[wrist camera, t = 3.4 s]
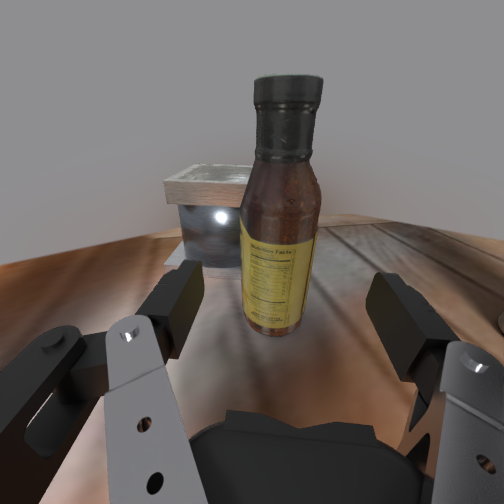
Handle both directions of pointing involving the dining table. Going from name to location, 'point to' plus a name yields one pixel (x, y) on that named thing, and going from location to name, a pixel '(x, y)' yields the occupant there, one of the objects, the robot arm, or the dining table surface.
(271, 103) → the sauce bottle
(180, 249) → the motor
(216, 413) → the dining table surface
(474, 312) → the dining table surface
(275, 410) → the dining table surface
